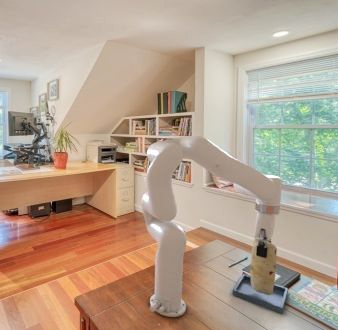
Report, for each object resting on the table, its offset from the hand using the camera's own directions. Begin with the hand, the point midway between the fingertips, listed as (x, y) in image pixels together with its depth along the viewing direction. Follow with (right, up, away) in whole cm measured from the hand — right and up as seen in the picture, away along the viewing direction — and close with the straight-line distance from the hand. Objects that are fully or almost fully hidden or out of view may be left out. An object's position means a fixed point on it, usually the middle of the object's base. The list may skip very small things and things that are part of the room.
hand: (263, 252), depth 98 cm
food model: (0, -15, +2) cm, 15 cm away
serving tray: (0, -17, +2) cm, 17 cm away
